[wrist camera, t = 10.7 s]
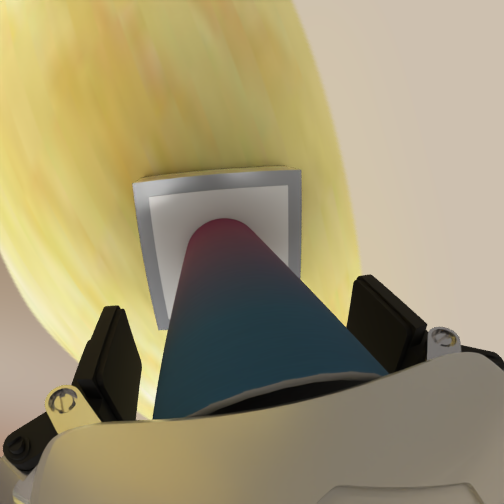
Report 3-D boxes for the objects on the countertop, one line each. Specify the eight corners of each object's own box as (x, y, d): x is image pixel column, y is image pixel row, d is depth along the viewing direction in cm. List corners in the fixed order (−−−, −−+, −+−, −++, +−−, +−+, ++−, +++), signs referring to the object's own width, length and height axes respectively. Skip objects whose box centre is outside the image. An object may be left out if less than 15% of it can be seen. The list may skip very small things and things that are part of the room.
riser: (143, 177, 21) (131, 183, 17) (283, 165, 22) (302, 170, 19) (162, 304, 25) (158, 331, 21) (284, 290, 26) (299, 313, 23)
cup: (292, 243, 20) (437, 403, 6) (233, 314, 21) (288, 509, 8) (213, 183, 18) (279, 314, 4) (153, 266, 19) (109, 480, 5)
